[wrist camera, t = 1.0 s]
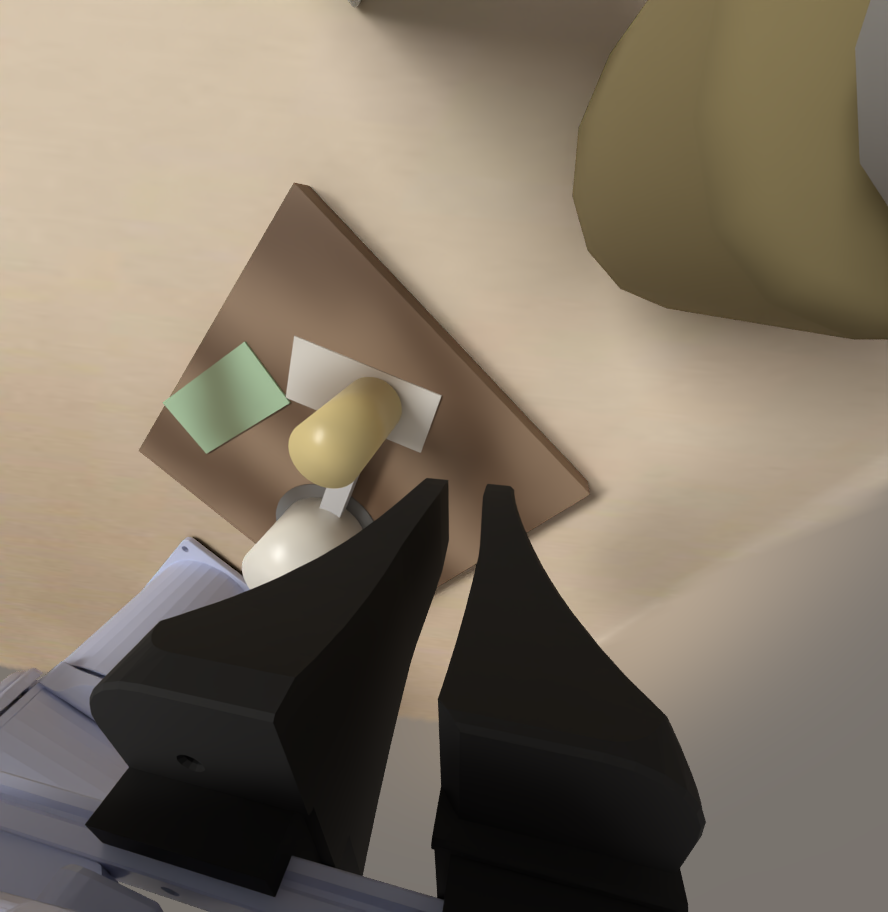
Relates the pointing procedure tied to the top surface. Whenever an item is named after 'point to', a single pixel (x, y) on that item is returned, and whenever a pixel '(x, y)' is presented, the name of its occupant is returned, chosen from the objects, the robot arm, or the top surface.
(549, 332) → the top surface
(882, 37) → the squeeze bottle
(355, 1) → the supplement box
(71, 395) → the top surface
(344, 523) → the peg lever
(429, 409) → the brown flat square board
